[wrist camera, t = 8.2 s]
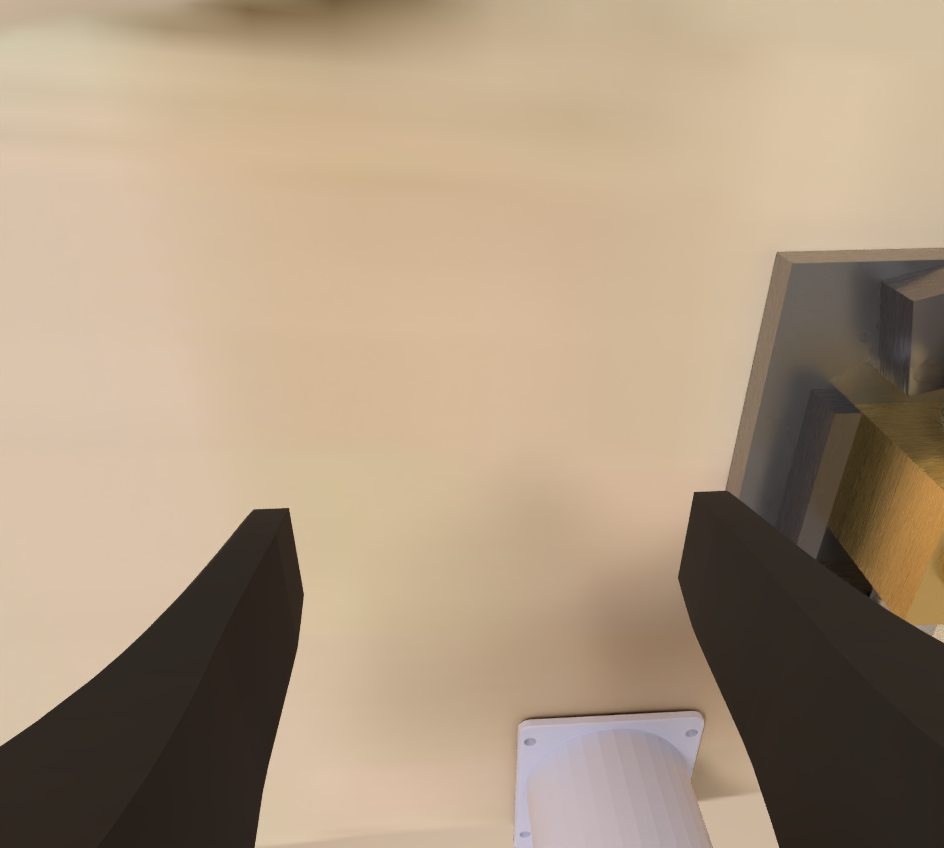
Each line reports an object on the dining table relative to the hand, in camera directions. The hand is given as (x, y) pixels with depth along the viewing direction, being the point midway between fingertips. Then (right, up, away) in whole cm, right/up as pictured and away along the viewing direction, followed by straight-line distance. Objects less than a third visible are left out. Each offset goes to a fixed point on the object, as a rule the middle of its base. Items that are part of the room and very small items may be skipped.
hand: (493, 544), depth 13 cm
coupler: (+13, +1, +11) cm, 17 cm away
